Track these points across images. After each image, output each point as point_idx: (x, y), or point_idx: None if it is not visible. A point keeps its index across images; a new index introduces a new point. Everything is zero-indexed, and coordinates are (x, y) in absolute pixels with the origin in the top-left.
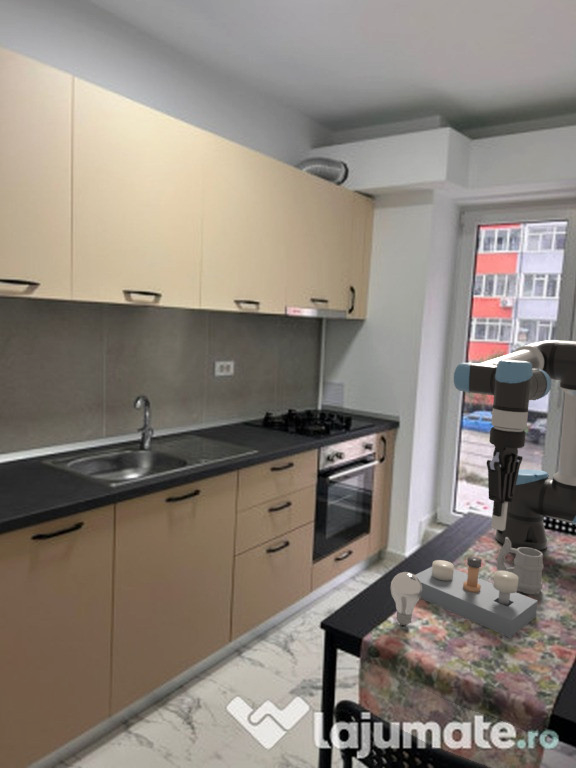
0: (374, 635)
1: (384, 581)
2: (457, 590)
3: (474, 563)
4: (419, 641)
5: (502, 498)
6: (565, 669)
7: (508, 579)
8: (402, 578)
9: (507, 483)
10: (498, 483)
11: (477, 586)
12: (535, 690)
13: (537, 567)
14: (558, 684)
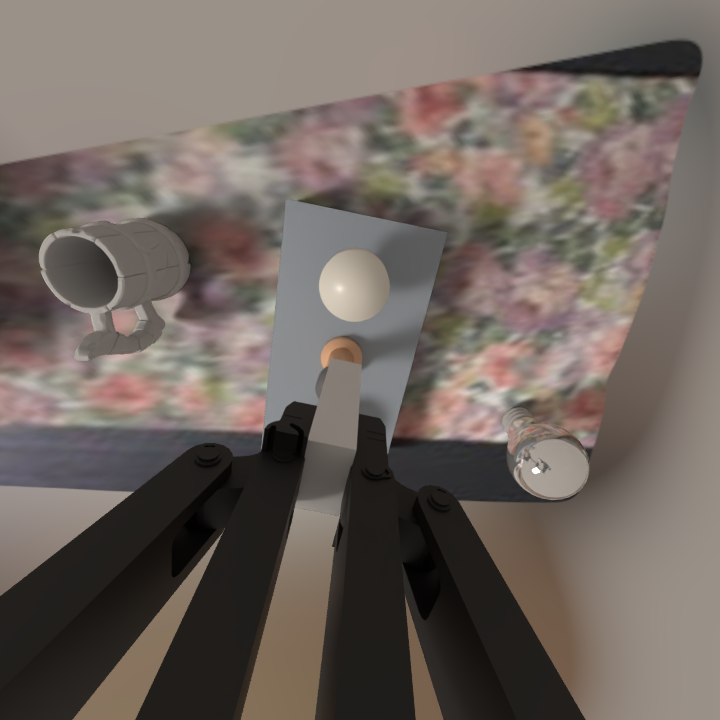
0: None
1: None
2: (374, 377)
3: None
4: (555, 373)
5: (394, 493)
6: (509, 80)
7: (381, 274)
8: (582, 485)
9: (265, 602)
10: (570, 697)
11: (341, 346)
12: (632, 127)
13: (125, 235)
14: (585, 83)
